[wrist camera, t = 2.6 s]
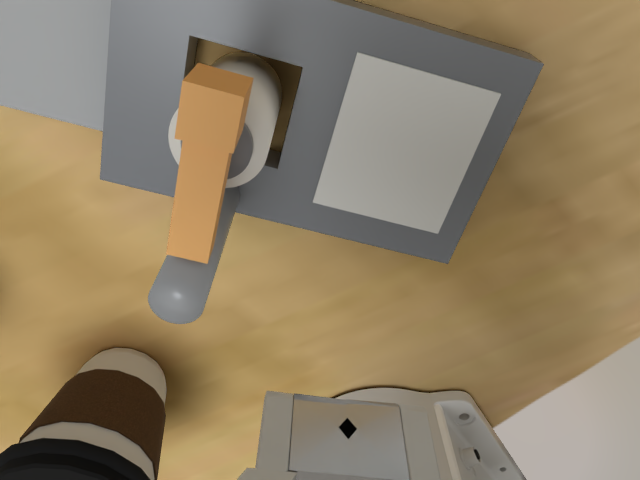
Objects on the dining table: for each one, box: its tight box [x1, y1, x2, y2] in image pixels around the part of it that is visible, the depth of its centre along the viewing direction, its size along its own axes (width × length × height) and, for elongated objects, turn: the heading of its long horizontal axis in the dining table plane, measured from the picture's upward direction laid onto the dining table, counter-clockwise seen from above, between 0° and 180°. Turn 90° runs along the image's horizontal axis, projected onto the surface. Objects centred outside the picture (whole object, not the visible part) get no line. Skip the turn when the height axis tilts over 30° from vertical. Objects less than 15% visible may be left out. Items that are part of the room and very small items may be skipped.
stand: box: [100, 0, 544, 324], centre depth 26 cm, size 22×13×13 cm, turn 75°
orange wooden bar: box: [166, 63, 254, 264], centre depth 22 cm, size 2×8×3 cm, turn 165°
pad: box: [0, 0, 111, 131], centre depth 29 cm, size 10×10×1 cm
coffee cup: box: [0, 348, 167, 480], centre depth 39 cm, size 11×11×12 cm
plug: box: [168, 52, 282, 188], centre depth 28 cm, size 5×5×9 cm
